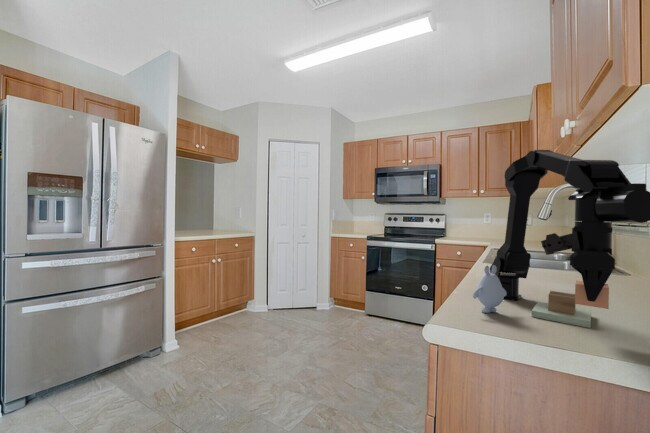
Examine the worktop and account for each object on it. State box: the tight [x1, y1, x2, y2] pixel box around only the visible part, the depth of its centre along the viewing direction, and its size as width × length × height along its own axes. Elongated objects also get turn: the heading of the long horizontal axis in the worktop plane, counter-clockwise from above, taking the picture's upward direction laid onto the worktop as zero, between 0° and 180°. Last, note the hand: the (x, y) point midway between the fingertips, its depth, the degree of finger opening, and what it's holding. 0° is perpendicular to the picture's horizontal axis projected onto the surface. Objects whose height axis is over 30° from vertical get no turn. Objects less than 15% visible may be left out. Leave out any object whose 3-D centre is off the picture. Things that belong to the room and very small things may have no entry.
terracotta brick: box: [574, 280, 610, 310], centre depth 63 cm, size 5×5×4 cm
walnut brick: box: [547, 290, 577, 315], centre depth 76 cm, size 5×5×4 cm
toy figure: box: [472, 265, 507, 314], centre depth 79 cm, size 11×6×12 cm, turn 108°
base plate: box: [531, 301, 592, 329], centre depth 76 cm, size 11×11×2 cm
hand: (591, 298), depth 63 cm, fingers closed on terracotta brick, 5 cm apart
